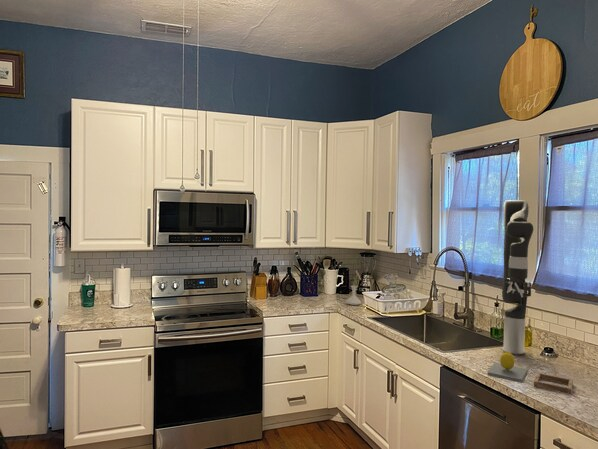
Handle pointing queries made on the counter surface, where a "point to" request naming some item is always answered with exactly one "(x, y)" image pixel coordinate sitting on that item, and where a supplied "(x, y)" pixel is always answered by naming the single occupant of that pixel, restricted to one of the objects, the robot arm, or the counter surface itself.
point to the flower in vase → (353, 299)
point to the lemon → (507, 360)
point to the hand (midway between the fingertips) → (516, 303)
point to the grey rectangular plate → (508, 372)
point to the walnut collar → (552, 386)
